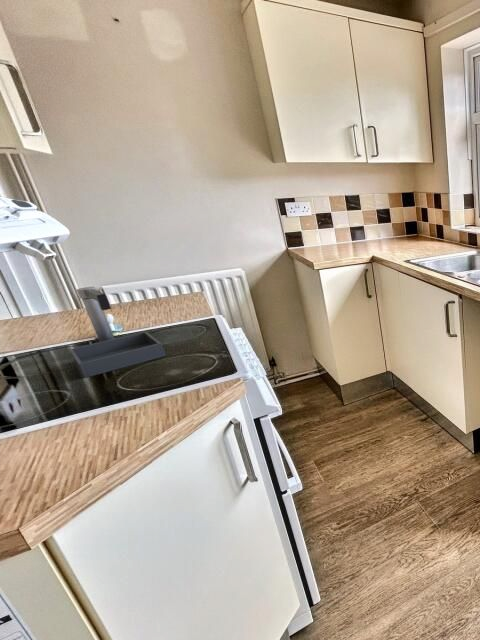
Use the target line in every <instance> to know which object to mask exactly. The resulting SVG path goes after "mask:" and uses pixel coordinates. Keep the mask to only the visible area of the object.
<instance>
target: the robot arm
mask: <svg viewBox="0 0 480 640" xmlns="http://www.w3.org/2000/svg"><path fill="white" fill-rule="evenodd" d="M37 209H38V206H37V205H35V203H33V202H31V201H28V200H20V199H13V198H9V197H5V196H0V254H2V253H8V252H15V251H17V252H19V253H20V254H23V255H26V256H29V257H33V258H35V259H36V260H38V261H40V262H44V261H48V260H54V259H55V258H56V257H57V253H56V252H55V251H53V250H52V249H50V245H58V244H64V243H66V242H67V240H68V238H69V237H70V234H71V233H70V230H69V229H68V227H67V226H65V225H64V224H62V223H61V222H60V221H58V220H57V219H55V218H54V217H52V216H51V215H50V214H48V213H46V212H44V211H42V210H37Z"/></svg>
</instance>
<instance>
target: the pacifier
mask: <svg viewBox="0 0 480 640" xmlns="http://www.w3.org/2000/svg"><path fill="white" fill-rule="evenodd" d="M106 318H107V321H108V323H109V326H110V328H111V331H112V333H113V335H114V337H115V336H118V335H119V333H120V332H121V331H122V330H123V325H122V324H120V323H116V322H115V323H114V321H115V318H114V315H112V314H111V313H107V314H106ZM94 337H95V338H96V339H98V336H97V334H96V333H95V335H94Z"/></svg>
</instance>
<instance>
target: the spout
mask: <svg viewBox="0 0 480 640" xmlns="http://www.w3.org/2000/svg"><path fill="white" fill-rule="evenodd" d="M76 292H77V295H78V296H79V299H80V300H82V299H86V298H91V299H94V300H96V301H97V302H98V304H99V307H100V309H101V310H103V311H108V310H111V309H112V307H111V304H110V302H109V300H108V297H107V295H106V293H104V292H101V291H98V290H97V289H96V287H95V286H86V287H81V288H77V289H76Z"/></svg>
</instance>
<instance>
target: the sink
mask: <svg viewBox="0 0 480 640" xmlns="http://www.w3.org/2000/svg"><path fill="white" fill-rule="evenodd" d="M68 352H69V353H70V355H71V358H72V359H73V362H74V363H75V365H76V366H77V368H78V369H79V372H81V375H82V376H83V378H85V379H86V378H90V377H94V376H98V375H101V374H105V373H109V372H113V371H115V370H120V369H123V368H127V367H131V366H134V365H138V364H141V363H145V362H149V361H152V360H156V359H159V358H164V357H166V356H167V355H166V352H165V350H164V347H163V344H162V342H161V341H159V340H158V339H157V338H156V337H154V336H153V335H151V334H150V333H149V332H148V331H142V332H138V333H134V334H130V335H125V336H121V337H116V338H115V339H112V340H107V341H103V342H100V341H99V342H94V343H90V344H85V345H82V346H78V347H73V348H69V349H68Z"/></svg>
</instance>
